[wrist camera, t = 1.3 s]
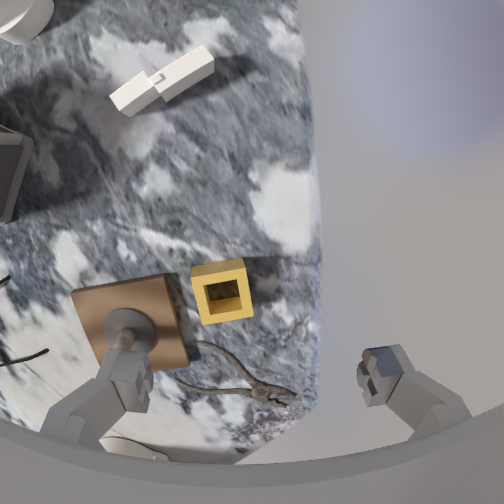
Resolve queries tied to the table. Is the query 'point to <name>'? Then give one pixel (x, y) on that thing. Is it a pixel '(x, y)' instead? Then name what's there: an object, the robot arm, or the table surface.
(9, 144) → the alarm clock
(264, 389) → the pliers
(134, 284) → the post stand
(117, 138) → the table surface
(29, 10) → the base with upright slab
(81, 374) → the table surface
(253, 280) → the table surface
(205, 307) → the block with square hole
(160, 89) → the white stepped block
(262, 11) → the table surface
